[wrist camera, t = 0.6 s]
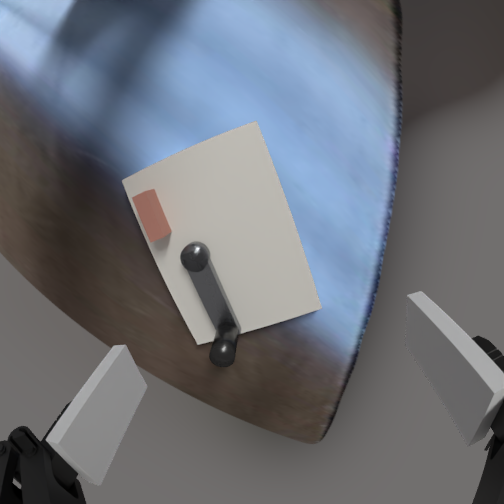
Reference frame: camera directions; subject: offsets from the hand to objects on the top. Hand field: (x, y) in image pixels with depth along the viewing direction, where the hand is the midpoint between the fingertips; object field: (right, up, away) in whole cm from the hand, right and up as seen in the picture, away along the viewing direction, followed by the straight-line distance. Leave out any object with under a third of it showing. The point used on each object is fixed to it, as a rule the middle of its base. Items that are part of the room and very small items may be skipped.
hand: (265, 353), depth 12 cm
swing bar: (-6, -1, +26) cm, 27 cm away
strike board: (-4, +6, +26) cm, 27 cm away
